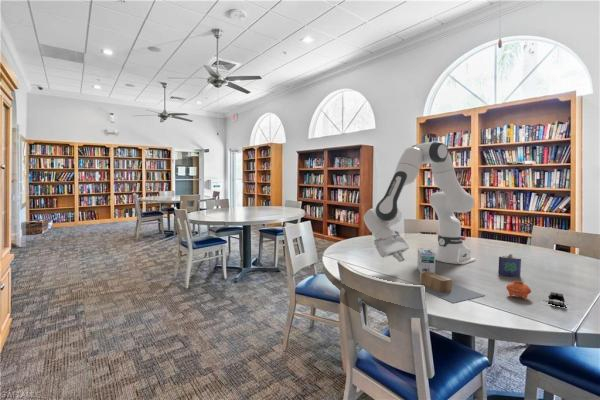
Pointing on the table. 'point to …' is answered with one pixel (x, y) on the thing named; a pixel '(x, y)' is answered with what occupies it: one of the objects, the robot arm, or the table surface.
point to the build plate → (556, 297)
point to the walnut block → (436, 281)
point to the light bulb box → (426, 260)
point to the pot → (518, 289)
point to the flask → (509, 266)
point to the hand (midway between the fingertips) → (402, 261)
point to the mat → (455, 294)
